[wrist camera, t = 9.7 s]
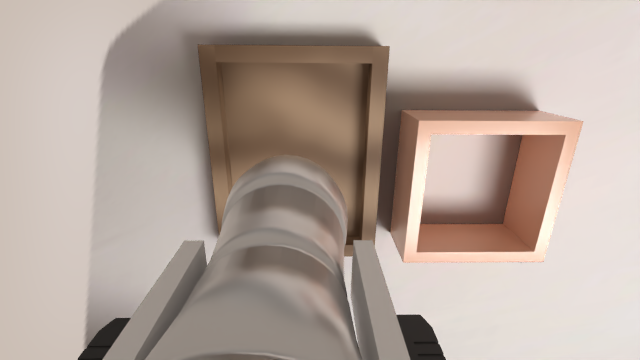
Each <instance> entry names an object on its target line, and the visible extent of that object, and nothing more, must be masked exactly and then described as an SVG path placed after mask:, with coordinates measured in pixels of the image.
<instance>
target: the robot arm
mask: <svg viewBox="0 0 640 360" xmlns="http://www.w3.org/2000/svg"><path fill="white" fill-rule="evenodd" d="M206 267H207V262H206V254H205V247H204V241H184V242H183V244H182V245H181V246H180V248H179V249H178V251H177V252H176V254H175V255H174V257H173V258H172V260H171V261H170V262H169V264H168V265H167V267H166V268H165V270H164V271H163V273H162V274H161V275H160V277H159V278H158V280H157V281H156V283H155V284H154V286H153V287H152V289H151V290H150V291H149V293H148V294H147V296H146V297H145V299H144V300H143V302H142V303H141V304H140V306H139V307H138V309H137V310H136V312H135V313H134V315H133V316H132V318H115V319H114V320H113V321H111V322H110V323H109V324H107V325H106V326H105V327H104V328H102V329H101V330H100V331H99V332H98V333H97V334H96V336H95V337H94V338H93V340H92V341H91V342H90V343H89V345H88V346H87V349H85V350H84V351H83V352H82V354H81V355H80V356H79V358H78V360H145V359H146V357H147V356H148V355H149V353H150V352H151V351H152V349H153V348H154V347H155V345H156V344H157V343H158V341H159V340H160V339H161V337H162V336H163V335H164V333H165V332H166V331H167V329H168V328H169V326H170V325H171V324H172V322H173V321H174V320H175V318H176V317H177V316H178V314H179V313H180V311H181V309H182V308H183V306H184V304H185V303H186V301H187V299H188V297H189V296H190V294H191V292H192V291H193V289H194V287H195V286H196V284H197V282H198V281H199V279H200V278H201V277H202V274H203V272H204V270H205V269H206ZM351 300H352V307H353V313H354V320H355V326H356V332H357V339H358V345H359V350H360V353H361V356H362V359H363V360H446V359H445V357H444V355H443V352H442V349H441V347H440V345H439V344H438V340H437V338H436V336H435V333H434V331H433V329H432V327H431V326H430V325H429V324H428V323H427V321H426V320H425V319H424V318H423V317H422V316H421V315H396V313H395V310H394V306H393V303H392V300H391V297H390V294H389V291H388V288H387V285H386V281H385V278H384V275H383V272H382V269H381V266H380V263H379V259H378V256H377V253H376V250H375V247H374V244H373V241H372V240H354V241H353V261H352V281H351Z"/></svg>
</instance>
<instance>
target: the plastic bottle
mask: <svg viewBox="0 0 640 360" xmlns="http://www.w3.org/2000/svg"><path fill="white" fill-rule="evenodd" d="M347 225H348V214H347V206H346V203H345V199H344V196H343V194H342V192H341V191H340V189H339V187H338V185H337V184H336V182H335V181H334V179H333V178H332V177H331V176H330V175H329V173H328V172H327V171H326V170H325V169H323V168H322V167H321V166H320V165H318V164H317V163H315V162H313V161H311V160H309V159H306V158H303V157H299V156H292V155H282V156H274V157H271V158H268V159H265V160H263V161H261V162H260V163H258V164H256V165H254V166H253V167H252V168H250V169H249V170H248V171H247V172H245V173H244V174H243V175H242V176H241V177H240V178H239V179H238V180H237V182H236V183H235V184H234V186H233V187H232V189H231V191H230V194H229V196H228V198H227V202H226V206H225V209H224V214H223V219H222V226H221V232H220V235H219V237H218V240H217V243H216V246H215V249H214V252H213V255H212V257H211V260H210V262H209V264H208V265H207V267H206V269H205V270H204V272H203V274H202V277H201V278H200V279H199V281H198V282H197V284H196V286H195V287H194V289H193V291H192V292H191V294H190V296H189V297H188V299H187V301H186V303H185V304H184V306H183V308H182V309H181V311H180V313H179V314H178V316H177V317H176V318H175V320H174V321H173V322H172V324H171V325H170V326H169V328H168V329H167V331H166V332H165V333H164V335H163V336H162V337H161V339H160V340H159V341H158V343H157V344H156V345H155V347H154V348H153V349H152V351H151V352H150V353H149V355H148V356H147V357H146V359H145V360H363V359H362V356H361V353H360V350H359V347H358V344H357V340H356V336H355V331H354V326H353V321H352V316H351V312H350V307H349V303H348V300H347V292H346V287H345V282H344V247H345V243H346V236H347Z"/></svg>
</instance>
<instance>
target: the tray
mask: <svg viewBox="0 0 640 360" xmlns="http://www.w3.org/2000/svg"><path fill="white" fill-rule="evenodd" d="M389 48H390V46H303V45H198V53H199V62H200V71H201V80H202V89H203V98H204V107H205V116H206V125H207V133H208V142H209V151H210V160H211V169H212V178H213V187H214V196H215V205H216V214H217V223H218V232H219V235H220V232H221V226H222V219H223V214H224V209H225V206H226V202H227V198H228V196H229V194H230V191H231V189H232V187H233V186H234V184H235V183H236V182H237V180H238V179H239V178H240V177H241V176H242V175H243V174H244V173H245V172H247V171H248V170H249V169H250V168H252V167H253V166H254V165H256V164H258V163H260V162H261V161H263V160H265V159H268V158H271V157H274V156H282V155H292V156H299V157H303V158H306V159H309V160H311V161H313V162H315V163H317V164H318V165H320V166H321V167H322V168H323V169H325V170H326V171H327V172H328V173H329V175H330V176H331V177H332V178H333V179H334V181H335V182H336V184H337V185H338V187H339V189H340V191H341V192H342V194H343V196H344V199H345V203H346V206H347V214H348V225H347V236H346V243H345V247H344V256H353V241H354V240H372V241H373V244H374V247H375V234H376V220H377V207H378V194H379V181H380V167H381V154H382V141H383V127H384V114H385V101H386V87H387V74H388V61H389Z"/></svg>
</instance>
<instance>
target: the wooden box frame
mask: <svg viewBox="0 0 640 360" xmlns="http://www.w3.org/2000/svg"><path fill="white" fill-rule="evenodd" d="M582 124H583V121H580V120H576V119H572V118H568V117H563V116H559V115H555V114H551V113H547V112H543V111H502V110H402V113H401V124H400V134H399V145H398V156H397V167H396V177H395V188H394V199H393V210H392V220H391V231H390V234H391V236H392V238H393V240H394V243H395V245H396V247H397V250H398V252H399V254H400V256H401V259H402V261H403V263H436V262H543V261H544V258H545V254H546V251H547V247H548V244H549V240H550V237H551V233H552V230H553V226H554V223H555V219H556V216H557V212H558V209H559V205H560V202H561V198H562V195H563V191H564V188H565V184H566V181H567V177H568V173H569V170H570V166H571V163H572V159H573V156H574V152H575V149H576V145H577V142H578V138H579V135H580V131H581V128H582ZM431 134H470V135H522V140H521V144H520V149H519V153H518V158H517V162H516V167H515V171H514V175H513V180H512V184H511V189H510V193H509V198H508V202H507V207H506V211H505V216H504V220H503V224H420V219H421V212H422V204H423V196H424V188H425V180H426V172H427V164H428V156H429V148H430V141H431Z"/></svg>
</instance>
